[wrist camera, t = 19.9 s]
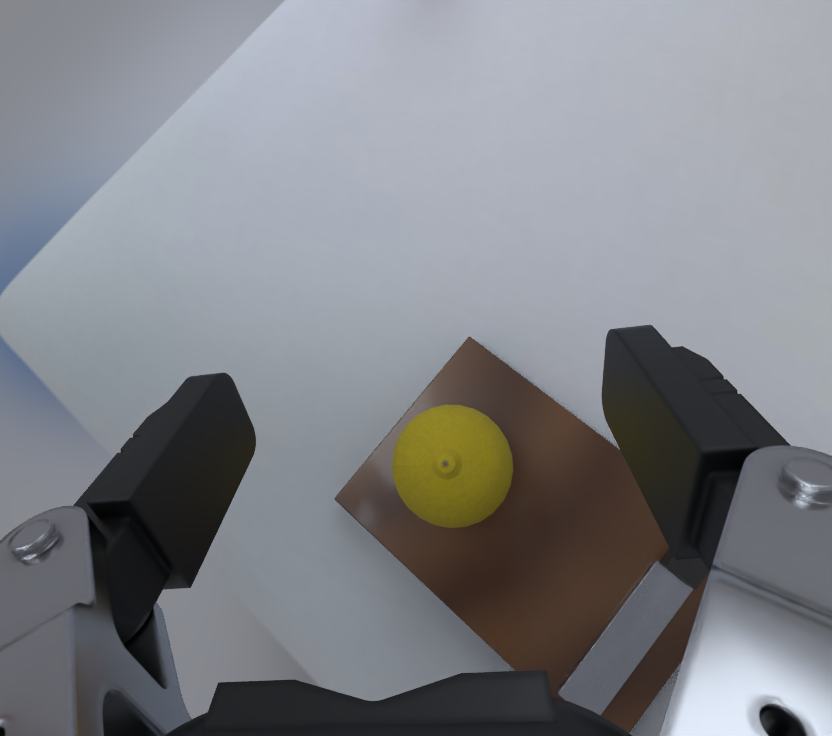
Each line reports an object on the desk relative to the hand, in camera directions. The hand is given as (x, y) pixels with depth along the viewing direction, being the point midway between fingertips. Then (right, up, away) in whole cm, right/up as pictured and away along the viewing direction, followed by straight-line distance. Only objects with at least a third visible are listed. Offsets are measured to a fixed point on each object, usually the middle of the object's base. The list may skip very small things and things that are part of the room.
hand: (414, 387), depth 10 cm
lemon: (+2, -5, +15) cm, 16 cm away
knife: (+11, -12, +13) cm, 20 cm away
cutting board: (+6, -8, +16) cm, 19 cm away
